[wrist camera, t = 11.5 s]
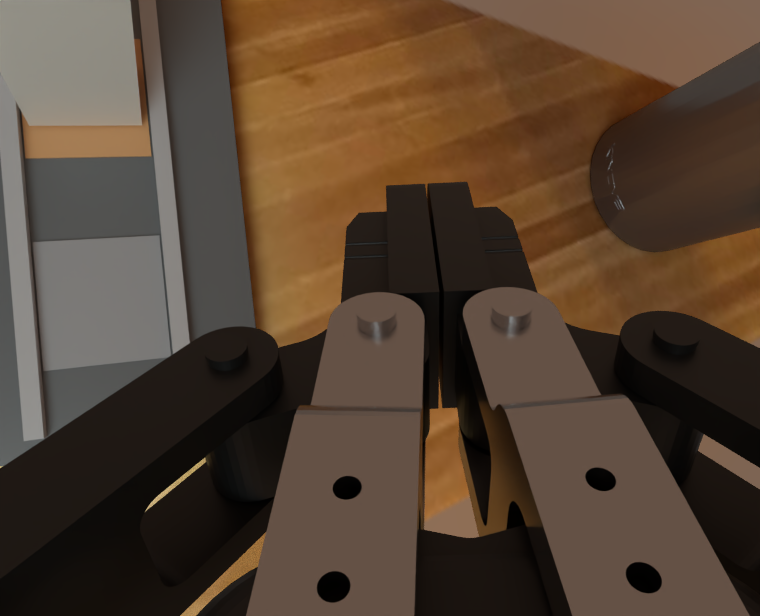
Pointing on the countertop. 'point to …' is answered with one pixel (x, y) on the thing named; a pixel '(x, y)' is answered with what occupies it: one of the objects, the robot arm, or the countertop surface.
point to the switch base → (120, 230)
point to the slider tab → (70, 61)
